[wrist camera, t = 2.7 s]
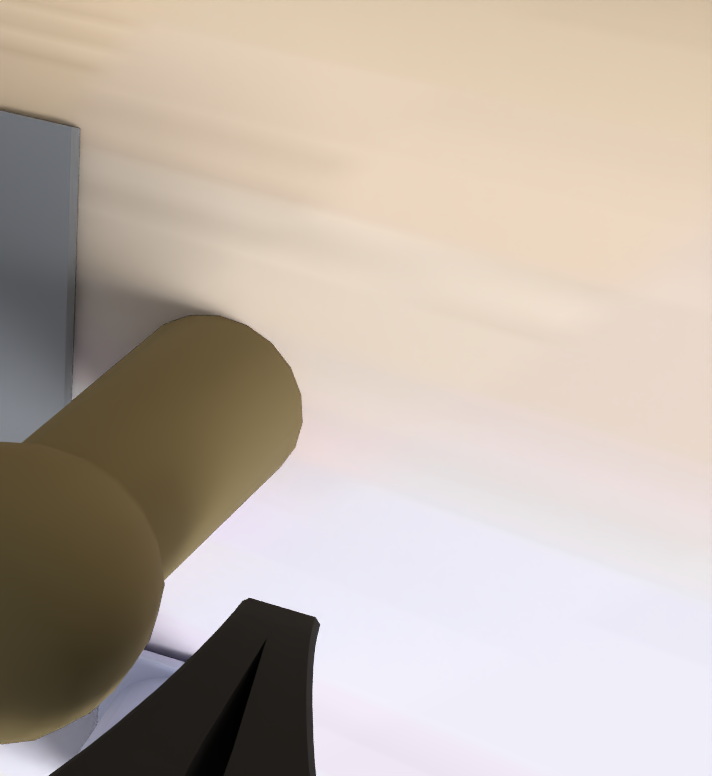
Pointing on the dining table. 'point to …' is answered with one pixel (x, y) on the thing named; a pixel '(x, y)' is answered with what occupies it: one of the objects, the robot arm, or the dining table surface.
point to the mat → (36, 270)
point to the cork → (127, 507)
